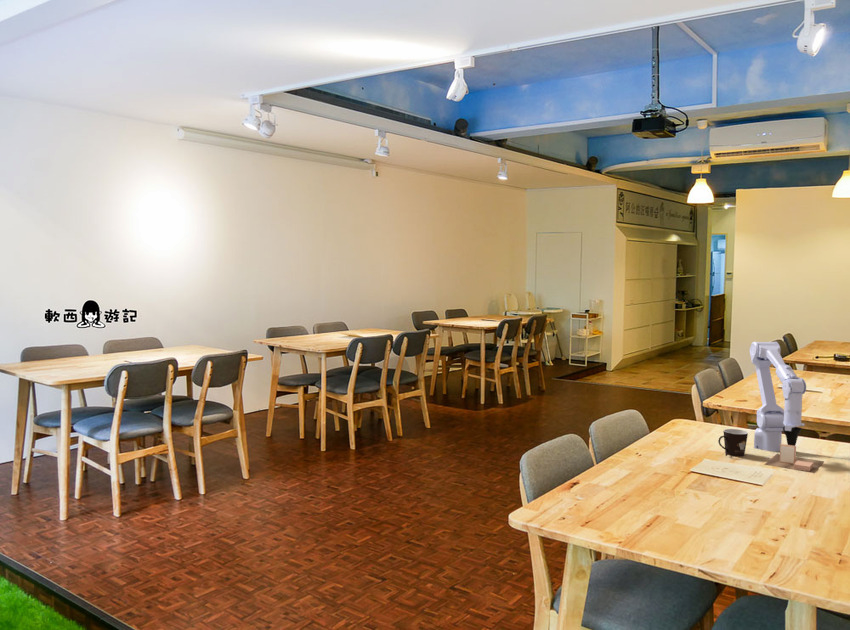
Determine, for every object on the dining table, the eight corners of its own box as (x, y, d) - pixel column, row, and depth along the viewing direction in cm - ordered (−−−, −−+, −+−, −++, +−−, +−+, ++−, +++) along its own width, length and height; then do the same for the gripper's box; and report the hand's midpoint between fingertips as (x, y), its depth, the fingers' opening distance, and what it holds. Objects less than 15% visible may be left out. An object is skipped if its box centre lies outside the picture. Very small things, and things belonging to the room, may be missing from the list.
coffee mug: (742, 454, 265) (743, 429, 265) (750, 460, 257) (751, 434, 256) (711, 453, 266) (712, 428, 266) (718, 459, 258) (719, 433, 257)
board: (764, 467, 248) (764, 464, 247) (776, 456, 262) (776, 453, 262) (813, 476, 237) (813, 473, 237) (824, 464, 252) (824, 461, 252)
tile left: (779, 462, 251) (780, 444, 250) (780, 461, 252) (781, 443, 252) (794, 464, 247) (795, 447, 247) (795, 463, 249) (796, 446, 248)
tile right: (797, 465, 247) (793, 469, 242) (797, 460, 247) (793, 464, 242) (813, 467, 244) (809, 471, 239) (813, 462, 243) (809, 466, 238)
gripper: (800, 415, 245) (799, 452, 245) (809, 409, 256) (807, 444, 257) (779, 412, 249) (777, 449, 250) (788, 406, 260) (786, 441, 261)
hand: (791, 446), depth 254 cm, fingers closed
